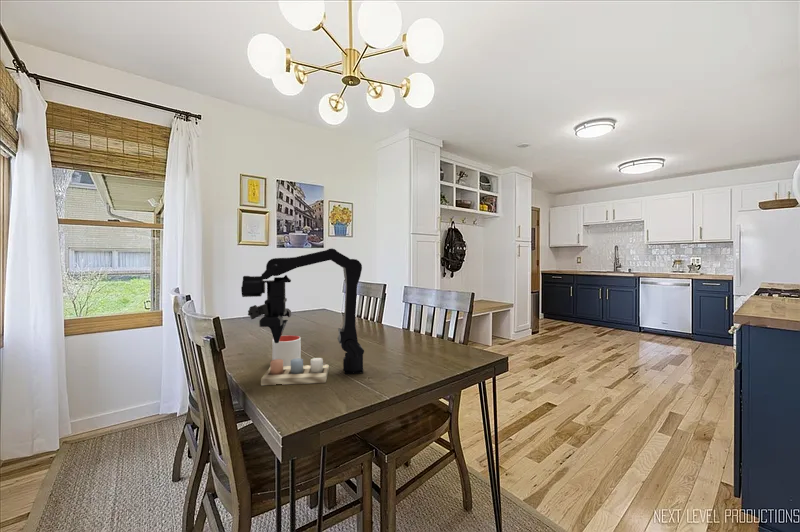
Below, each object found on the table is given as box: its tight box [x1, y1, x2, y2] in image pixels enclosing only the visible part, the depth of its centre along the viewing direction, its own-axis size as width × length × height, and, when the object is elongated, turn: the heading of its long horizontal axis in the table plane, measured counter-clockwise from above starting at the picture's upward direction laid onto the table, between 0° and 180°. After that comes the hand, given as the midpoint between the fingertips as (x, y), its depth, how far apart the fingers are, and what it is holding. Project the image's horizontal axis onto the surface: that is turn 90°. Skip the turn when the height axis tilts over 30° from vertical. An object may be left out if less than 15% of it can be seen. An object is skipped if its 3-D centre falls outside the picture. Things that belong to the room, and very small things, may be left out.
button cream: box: [310, 357, 324, 373], centre depth 116 cm, size 4×4×4 cm
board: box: [260, 364, 330, 386], centre depth 115 cm, size 20×12×2 cm, turn 97°
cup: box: [271, 335, 302, 366], centre depth 128 cm, size 10×10×10 cm
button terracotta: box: [269, 359, 283, 375], centre depth 114 cm, size 4×4×4 cm
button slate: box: [291, 358, 304, 374], centre depth 115 cm, size 4×4×4 cm
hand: (276, 342), depth 114 cm, fingers closed
